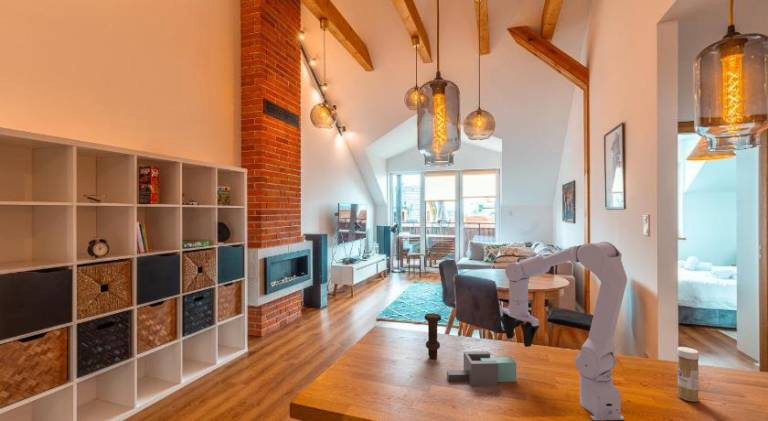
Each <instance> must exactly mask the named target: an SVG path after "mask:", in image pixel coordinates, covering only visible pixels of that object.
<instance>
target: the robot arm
mask: <svg viewBox="0 0 768 421" xmlns="http://www.w3.org/2000/svg"><path fill="white" fill-rule="evenodd" d="M518 260H519V261H518V262H510V263H509V264H507V265H506V266H505V269H504V270H505V271H504V272H505V276H506V278H507V279H508V298H509V299H508V307H500V314H501V316H499V320H500V321H501V323H502V326H503V328H504V331H505V332H504V333H505V336H506V339H508V340H510V339H513V338H514V336H515V335H514V334H515V324H516V320H518V321H520V322H524V323H521V324H520V328H521V330H522V335H523V345H524V348H528V347H532V343H533V340H534V337H535V335H536V333H537V331H538V329H539V328H540V320H539V319H538V318H536V317H534V316H533V315H531V314H530V312H529V283H530V278H533V277H536V276H541V275H543V274H547V273H549V271H550V269H551V267H554V266H556V265H560V264H564V263H567V262H571V261H572V262H573V263H576V264H577V263H579V264H581V265H582V267H584V268H585V269H587V270H588V271H589V272H591V273H592V274H594V276H596V278H597V279H598V280H599V281H600V285H599V290H598V294H597V299H596V302H595V307H594V312H593V316H592V319H591V320H592V321H591V324H590V328H589V333H588V337H587V338H586V340H585V342H584V343H583V344H582V346H581V350H580V351H579V353H577V355H576V356H575V358H574V364H575V365H574V366H575V368H576V369H577V371H578V373H579V403H580V406H582V408H584V409H585V410H586V411H589V412H590V413H591V414H588V417H590V418H591V420H593V421H619V420H620V421H623V420H624V419H625V417H624V416H623V415H622V413H621V412H622V410H621V407H622V404H621V401H622V400H621V392H620V391H619V389H618V388H617V387H616V386H615V385H614V382H613V379H612V378H613V377H612V370H613V369H614V368H615V366H616V364H617V360H616V356H615V350H616V346H614V345H613V340H614V336H615V332H616V327H617V324H618V320H619V315H620V312H621V308H622V303H623V299H624V296H625V291H626V286H627V282H628V277H627V274H626V270H625V267H624V265H623V261H622V253H621V251H620V250H619V249H618V248H617V247H616V246H615V245H614V244H612V243H611V242H609V241H600V242H594V243H593V242H592V243H591V242H585V243H583V244H577V245H573V246H570V247H567V248H564V249H562V250H558V251H556V252H554V253H552V254H549V255H544V254H541V253H537V252H536V253H532V254H531V256H530V257H527V258H520V259H518Z"/></svg>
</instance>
